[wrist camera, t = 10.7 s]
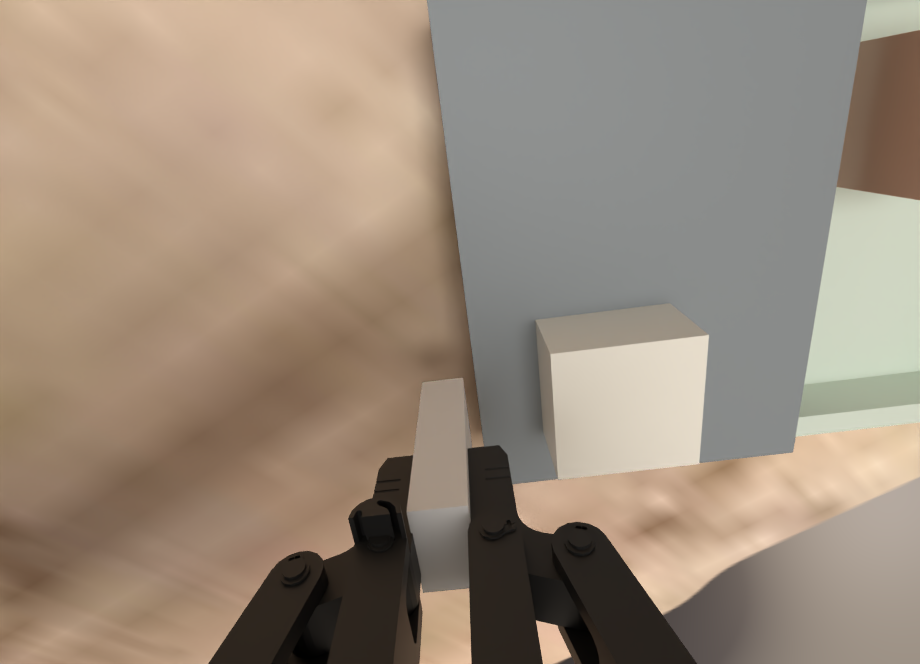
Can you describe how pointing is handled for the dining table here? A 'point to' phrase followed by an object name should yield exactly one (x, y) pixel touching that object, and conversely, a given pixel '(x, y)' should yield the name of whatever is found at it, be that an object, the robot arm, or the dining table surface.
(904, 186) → the tile terracotta
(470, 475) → the robot arm
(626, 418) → the tile cream
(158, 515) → the dining table surface
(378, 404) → the dining table surface
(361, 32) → the dining table surface
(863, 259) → the tray
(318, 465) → the dining table surface
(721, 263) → the grey rectangular slab
